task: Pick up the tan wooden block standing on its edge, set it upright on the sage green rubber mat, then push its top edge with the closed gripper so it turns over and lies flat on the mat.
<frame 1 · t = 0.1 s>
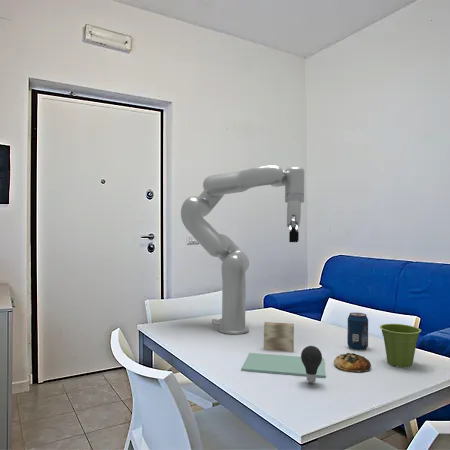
hand: (294, 241, 163), 37 cm above the table, fingers open, 9 cm apart
tan wooden block: (278, 349, 142), on the table
bread roll: (351, 368, 125), on the table
rubber mat: (284, 365, 125), on the table
soda can: (357, 348, 145), on the table
light bulb: (311, 383, 111), on the table
plant pot: (399, 364, 128), on the table
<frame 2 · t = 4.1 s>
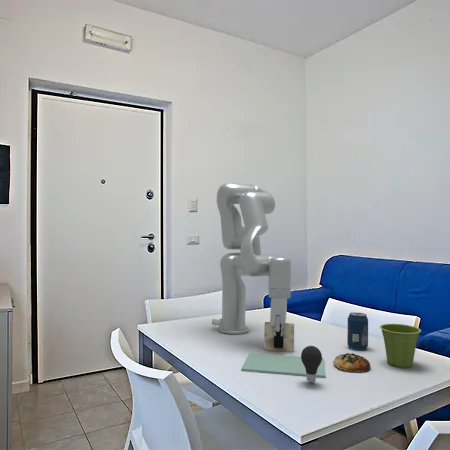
hand: (278, 345, 142), 1 cm above the table, fingers closed on tan wooden block, 2 cm apart
tan wooden block: (279, 349, 142), on the table, touching gripper
everything else where it was.
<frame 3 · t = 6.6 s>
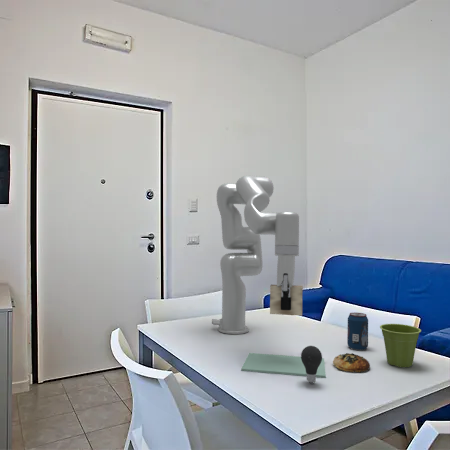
hand: (286, 308, 130), 16 cm above the table, fingers closed on tan wooden block, 2 cm apart
tan wooden block: (286, 314, 130), point 15 cm above the table, touching gripper
everything else where it was.
when the fingers open (3 cm above the table, at t = 9.1 s): tan wooden block stays where it is, resting on rubber mat.
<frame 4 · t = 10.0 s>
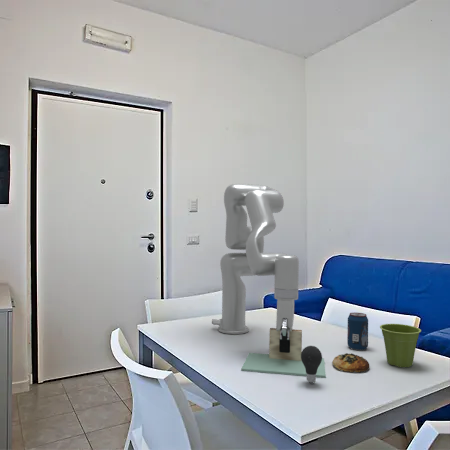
hand: (285, 347, 130), 4 cm above the table, fingers open, 9 cm apart
tan wooden block: (285, 358, 130), point 1 cm above the table, touching rubber mat
everything else where it was.
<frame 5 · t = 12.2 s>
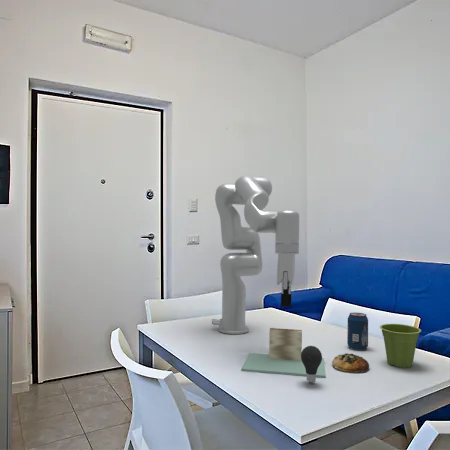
hand: (286, 306, 132), 17 cm above the table, fingers closed
nothing on the table moved.
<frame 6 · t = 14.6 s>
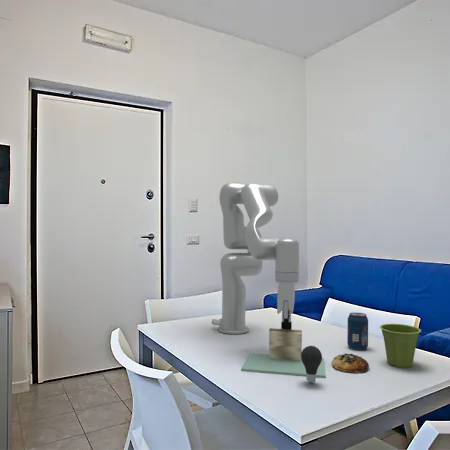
hand: (286, 334, 132), 8 cm above the table, fingers closed
tan wooden block: (285, 357, 130), point 1 cm above the table, tilted 10°, touching rubber mat
everything else where it was.
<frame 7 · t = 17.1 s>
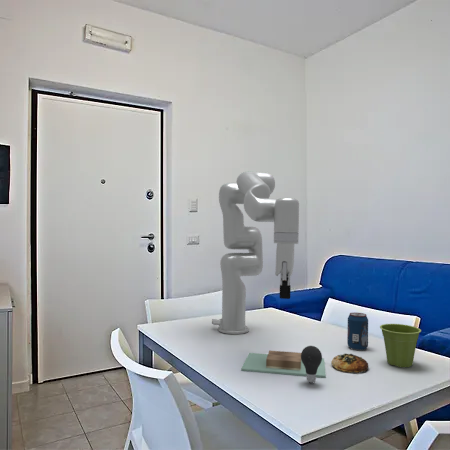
hand: (284, 298, 126), 20 cm above the table, fingers closed
tan wooden block: (285, 355, 129), point 2 cm above the table, tilted 90°, touching rubber mat
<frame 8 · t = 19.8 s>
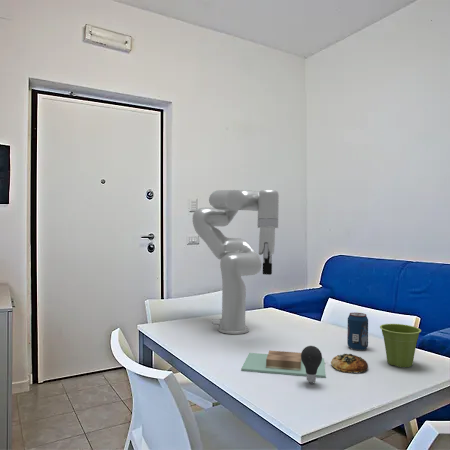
hand: (267, 274, 150), 25 cm above the table, fingers closed
at the end: tan wooden block tilted 90°; tan wooden block inside the target area (2.7 cm from its centre), point 1.8 cm above the table; tan wooden block touching rubber mat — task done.
